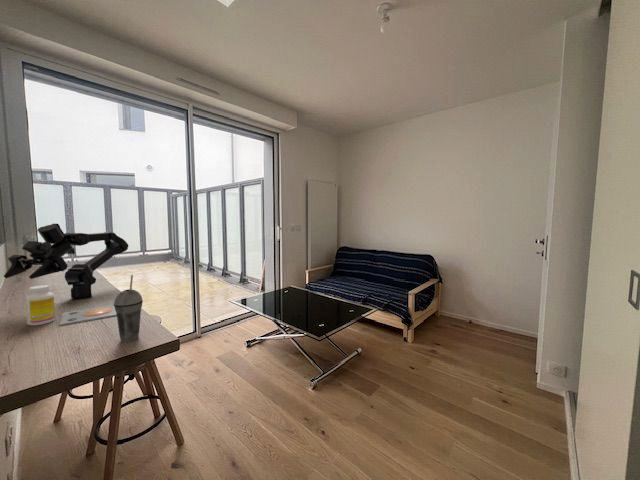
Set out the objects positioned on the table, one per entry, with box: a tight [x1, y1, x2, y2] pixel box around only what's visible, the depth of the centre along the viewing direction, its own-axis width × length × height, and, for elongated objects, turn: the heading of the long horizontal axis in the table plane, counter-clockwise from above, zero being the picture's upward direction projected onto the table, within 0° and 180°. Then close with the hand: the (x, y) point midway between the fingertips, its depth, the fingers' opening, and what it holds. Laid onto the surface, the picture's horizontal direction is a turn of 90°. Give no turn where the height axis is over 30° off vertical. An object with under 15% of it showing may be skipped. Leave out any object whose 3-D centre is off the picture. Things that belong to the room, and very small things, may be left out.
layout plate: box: [59, 304, 117, 327], centre depth 98 cm, size 16×14×1 cm
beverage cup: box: [113, 274, 144, 343], centre depth 78 cm, size 7×7×20 cm
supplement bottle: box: [25, 284, 56, 326], centre depth 89 cm, size 7×7×13 cm
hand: (17, 277), depth 93 cm, fingers open, 9 cm apart
